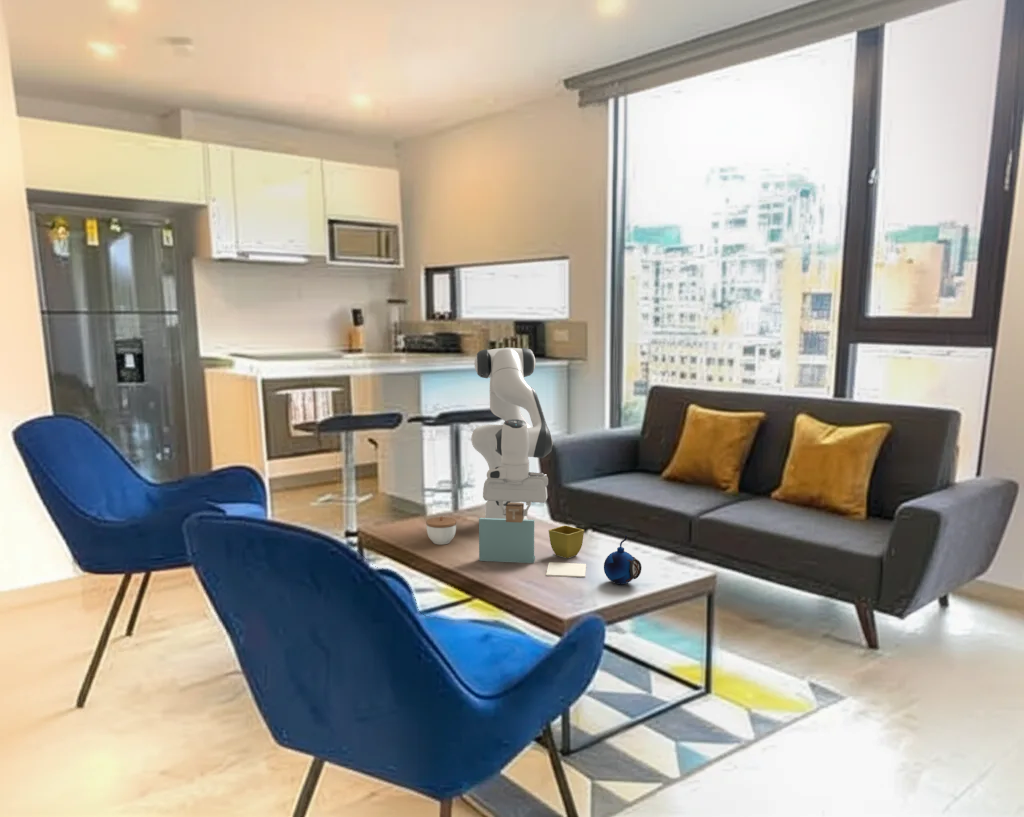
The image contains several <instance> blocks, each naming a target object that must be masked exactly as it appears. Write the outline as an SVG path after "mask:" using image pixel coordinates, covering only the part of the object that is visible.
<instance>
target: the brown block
mask: <svg viewBox="0 0 1024 817" xmlns="http://www.w3.org/2000/svg"><path fill="white" fill-rule="evenodd" d="M523 509H525V502H522V503H508V504H507V505H506V522H520V523H522V521H523V519H524V516H523Z"/></svg>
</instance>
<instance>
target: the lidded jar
mask: <svg viewBox="0 0 1024 817" xmlns="http://www.w3.org/2000/svg"><path fill="white" fill-rule="evenodd" d="M425 523H426V533H427V536H428V538H429V539H430V541H431V542H432V543H433V544H434V545H447V544H450V543H451V541H452V540H453V539H454V537H455V536H456V533H457V519H455V518H452V517H447V516H446V517H445V516H443V515H440V516H438V517H432V518H429V519H426V521H425Z"/></svg>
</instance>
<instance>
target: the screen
mask: <svg viewBox="0 0 1024 817" xmlns="http://www.w3.org/2000/svg"><path fill="white" fill-rule="evenodd" d="M478 561H480V562H498V563H499V562H501V563H520V564H521V563H522V564H523V563H525V564H534V563H535V561H536V555H535V519H528V520H526V519H523V521H522V523H520V522H506V519H498V518H485V517H479V519H478Z"/></svg>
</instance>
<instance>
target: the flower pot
mask: <svg viewBox="0 0 1024 817" xmlns="http://www.w3.org/2000/svg"><path fill="white" fill-rule="evenodd" d="M584 534H585V529H582V528H578V527H574V526H571V525H565V524H564V525H562V526H558V527H555V528H551V529H548V536H549V543H550V546H551V549H552V551H553V553H554V554H555V556H556V557H560V558H564V559H570V558H573V557H576V556H577V555H578V554H579V553H580V550H581V549H582V546H583V541H584Z"/></svg>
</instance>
